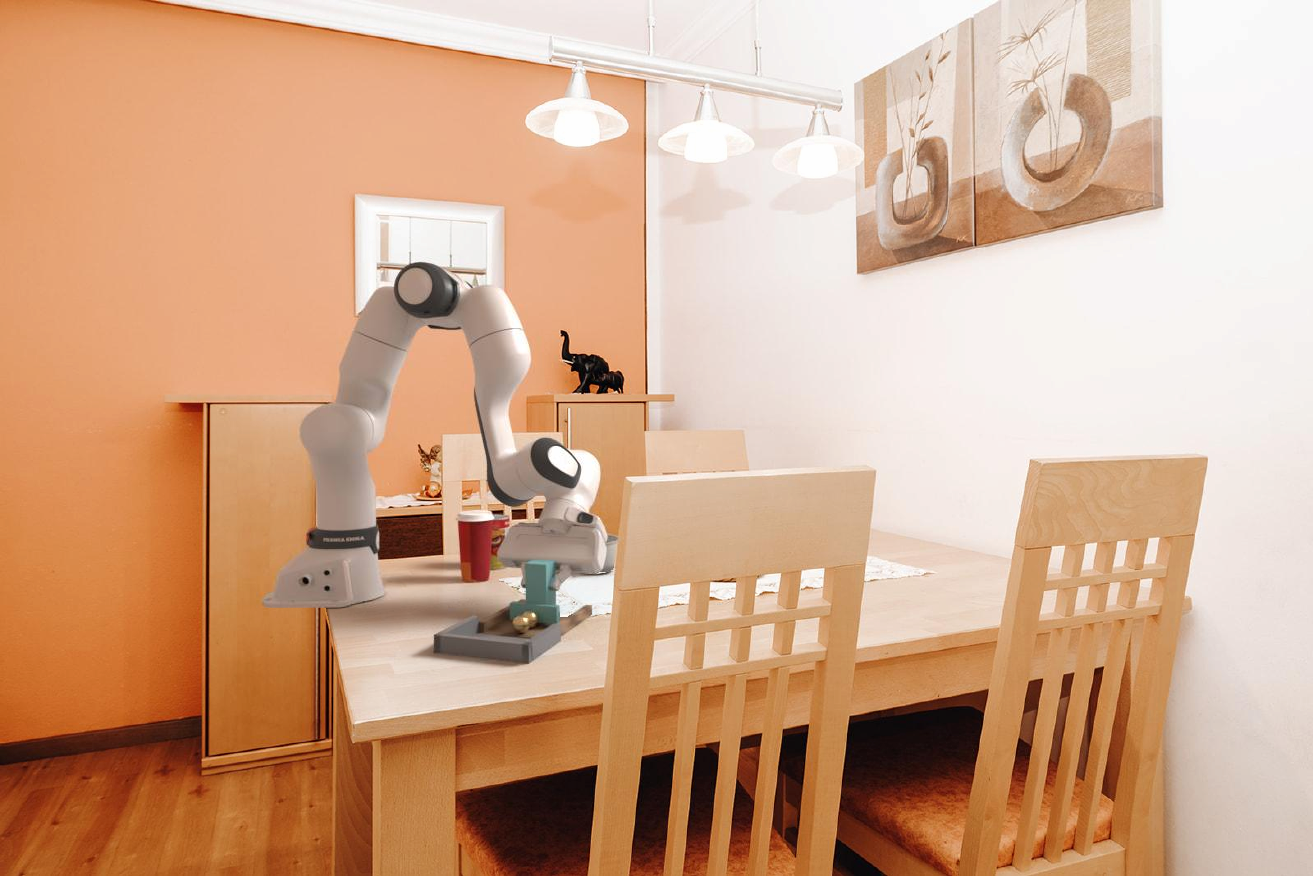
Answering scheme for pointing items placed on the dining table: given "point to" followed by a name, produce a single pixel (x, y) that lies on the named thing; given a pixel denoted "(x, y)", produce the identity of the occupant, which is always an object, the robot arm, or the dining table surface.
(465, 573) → the coffee cup
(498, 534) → the canned food
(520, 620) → the ball
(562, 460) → the robot arm
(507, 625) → the channel
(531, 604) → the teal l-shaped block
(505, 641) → the tray
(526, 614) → the ball
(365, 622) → the dining table surface
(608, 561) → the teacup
